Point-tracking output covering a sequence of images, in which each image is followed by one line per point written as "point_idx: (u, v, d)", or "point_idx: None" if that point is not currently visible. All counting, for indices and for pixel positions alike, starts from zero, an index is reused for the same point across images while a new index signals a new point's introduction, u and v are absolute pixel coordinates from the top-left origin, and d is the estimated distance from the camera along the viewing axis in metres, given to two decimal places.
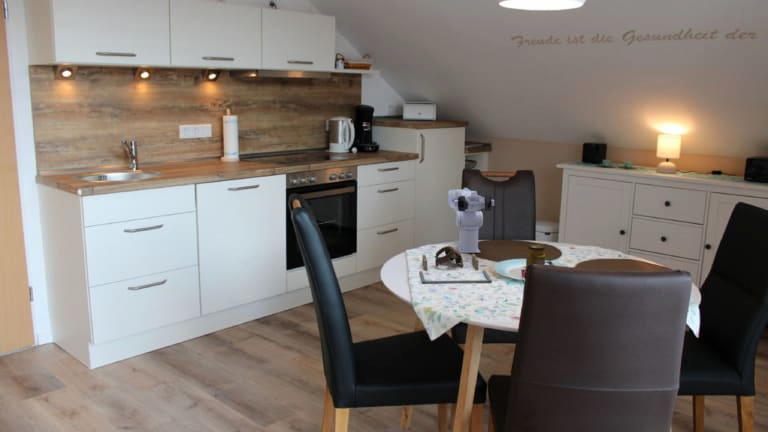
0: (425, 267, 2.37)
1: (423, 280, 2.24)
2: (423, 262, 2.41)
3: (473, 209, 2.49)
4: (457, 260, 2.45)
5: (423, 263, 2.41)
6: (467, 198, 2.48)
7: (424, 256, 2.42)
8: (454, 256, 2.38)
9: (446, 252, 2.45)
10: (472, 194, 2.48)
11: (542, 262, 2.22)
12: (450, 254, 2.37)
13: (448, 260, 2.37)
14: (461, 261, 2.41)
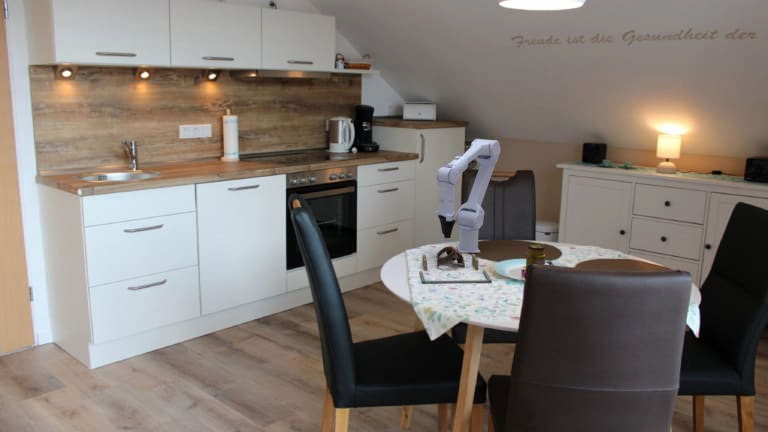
0: (425, 267, 2.37)
1: (423, 280, 2.24)
2: (423, 262, 2.41)
3: None
4: (458, 260, 2.44)
5: (423, 263, 2.41)
6: None
7: (424, 256, 2.42)
8: (456, 256, 2.38)
9: (447, 252, 2.45)
10: None
11: (542, 262, 2.22)
12: (452, 254, 2.37)
13: (450, 260, 2.37)
14: (463, 261, 2.40)
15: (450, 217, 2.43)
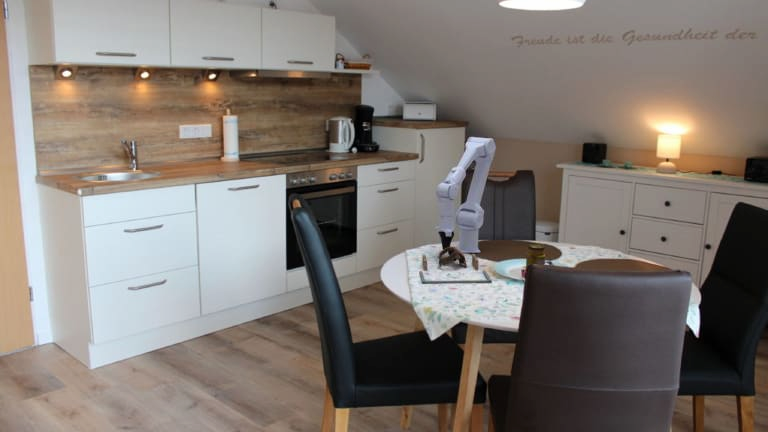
0: (425, 267, 2.37)
1: (423, 280, 2.24)
2: (423, 262, 2.41)
3: None
4: (460, 260, 2.44)
5: (423, 263, 2.41)
6: None
7: (424, 256, 2.42)
8: (458, 256, 2.37)
9: (449, 252, 2.44)
10: None
11: (542, 262, 2.22)
12: (454, 254, 2.37)
13: (452, 260, 2.37)
14: (464, 261, 2.40)
15: (450, 232, 2.44)
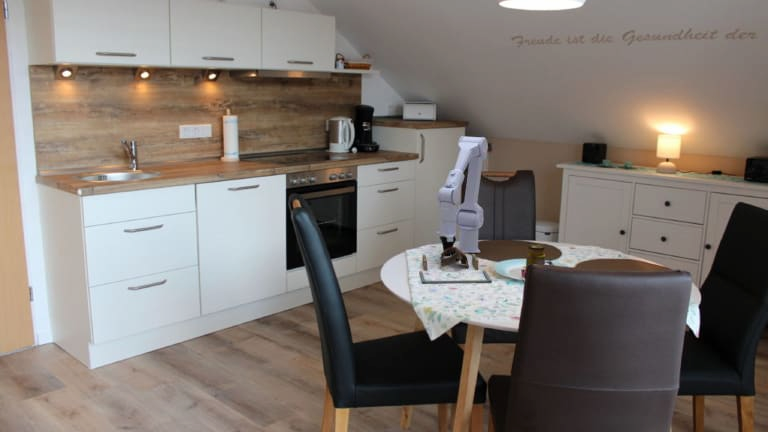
0: (425, 267, 2.37)
1: (423, 280, 2.24)
2: (423, 262, 2.41)
3: None
4: (462, 261, 2.43)
5: (423, 263, 2.41)
6: None
7: (424, 256, 2.42)
8: (460, 257, 2.36)
9: (451, 253, 2.44)
10: None
11: (542, 262, 2.22)
12: (456, 255, 2.36)
13: (454, 261, 2.36)
14: (466, 262, 2.39)
15: (451, 238, 2.39)
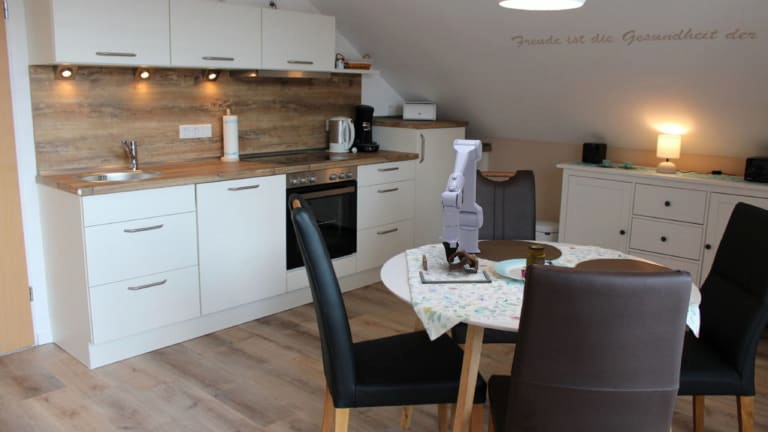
0: (425, 267, 2.37)
1: (423, 280, 2.24)
2: (423, 262, 2.41)
3: None
4: (470, 265, 2.37)
5: (423, 263, 2.41)
6: None
7: (424, 256, 2.42)
8: (468, 262, 2.30)
9: (459, 256, 2.38)
10: None
11: (542, 262, 2.22)
12: (464, 260, 2.30)
13: (462, 266, 2.30)
14: (475, 266, 2.34)
15: (454, 243, 2.31)
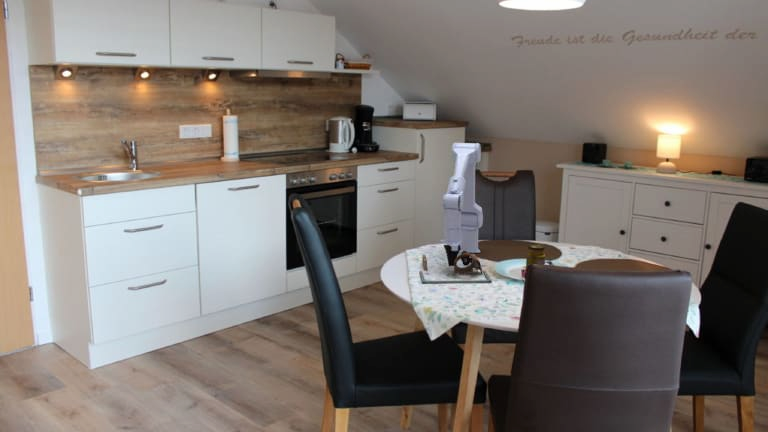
0: (425, 267, 2.37)
1: (423, 280, 2.24)
2: (423, 262, 2.41)
3: None
4: None
5: (423, 263, 2.41)
6: None
7: (424, 256, 2.42)
8: (476, 265, 2.28)
9: (462, 258, 2.34)
10: None
11: (542, 262, 2.22)
12: (473, 264, 2.27)
13: (471, 270, 2.27)
14: (481, 268, 2.32)
15: (456, 247, 2.27)
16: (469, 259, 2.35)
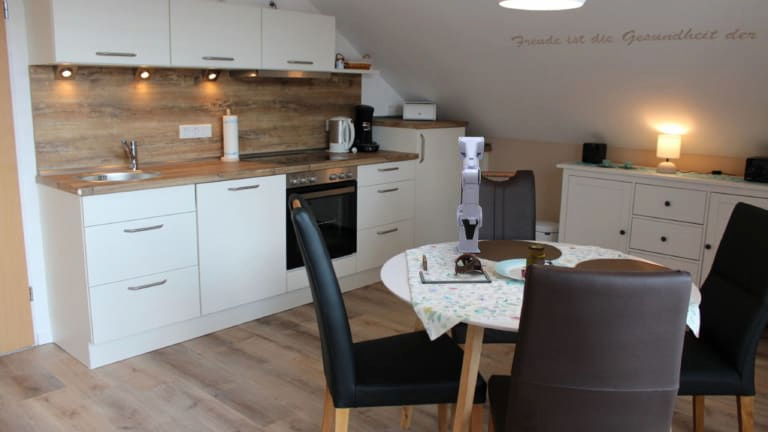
0: (425, 267, 2.37)
1: (423, 280, 2.24)
2: (423, 262, 2.41)
3: None
4: (474, 267, 2.36)
5: (423, 263, 2.41)
6: None
7: (424, 256, 2.42)
8: (477, 263, 2.29)
9: (463, 260, 2.35)
10: None
11: (542, 262, 2.22)
12: (473, 262, 2.28)
13: (472, 268, 2.28)
14: (481, 268, 2.32)
15: (474, 220, 2.34)
16: (469, 261, 2.36)
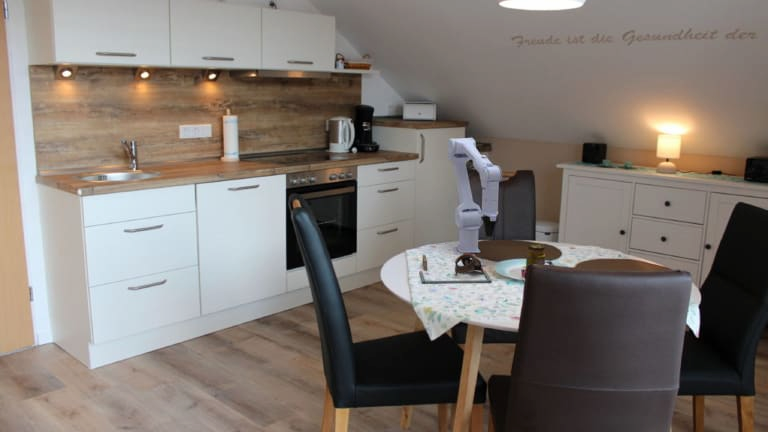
0: (425, 267, 2.37)
1: (423, 280, 2.24)
2: (423, 262, 2.41)
3: None
4: (474, 267, 2.36)
5: (423, 263, 2.41)
6: None
7: (424, 256, 2.42)
8: (477, 263, 2.29)
9: (463, 260, 2.35)
10: None
11: (542, 262, 2.22)
12: (473, 262, 2.28)
13: (472, 268, 2.28)
14: (482, 268, 2.32)
15: (494, 217, 2.38)
16: (469, 261, 2.36)
